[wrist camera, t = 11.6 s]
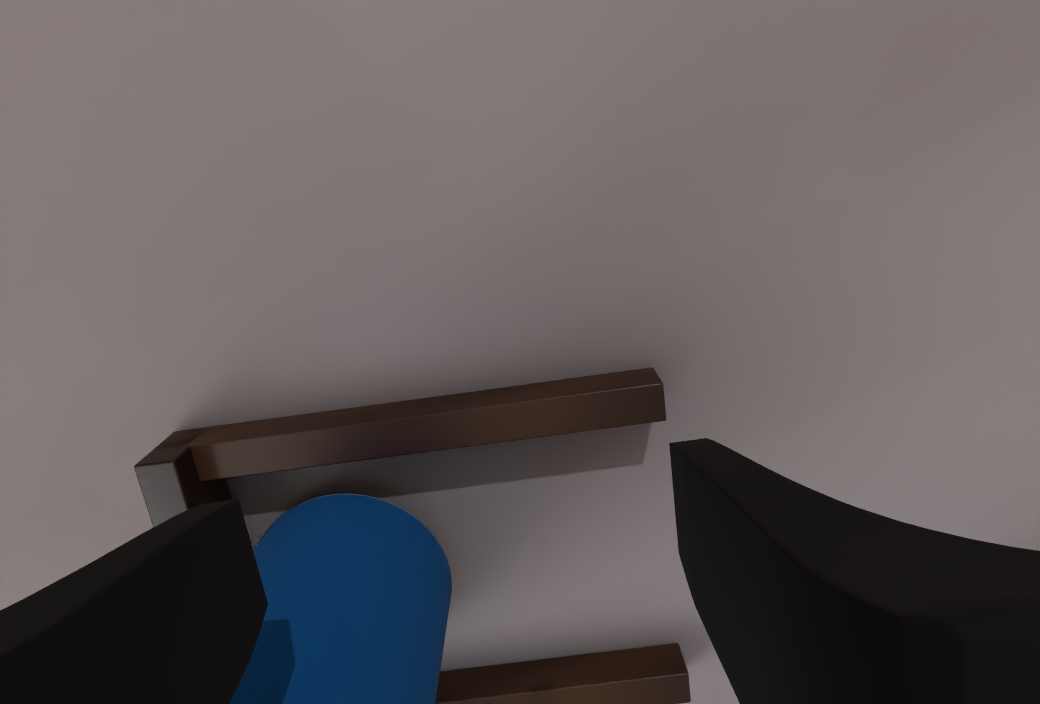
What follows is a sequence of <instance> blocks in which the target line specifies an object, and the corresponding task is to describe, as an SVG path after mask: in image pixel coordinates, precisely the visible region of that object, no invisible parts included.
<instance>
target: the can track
mask: <svg viewBox="0 0 1040 704" xmlns="http://www.w3.org/2000/svg"><path fill="white" fill-rule="evenodd" d="M665 420H666V411H665V399H664V388H663V383H662V381H661V379H660V378H659V376H658V375H657V373H656V371H655V370H654V368H646V369H639V370H631V371H624V372H616V373H609V374H601V375H594V376H587V377H579V378H572V379H564V380H557V381H549V382H542V383H534V384H527V385H519V386H512V387H504V388H497V389H489V390H482V391H475V392H467V393H460V394H452V395H445V396H437V397H430V398H422V399H415V400H407V401H400V402H392V403H385V404H378V405H370V406H363V407H355V408H348V409H340V410H333V411H325V412H318V413H310V414H303V415H295V416H288V417H280V418H273V419H266V420H258V421H251V422H243V423H236V424H228V425H221V426H213V427H206V428H198V429H191V430H183V431H176V432H173V433H172V434H171V435H170V436H169V437H167V438H166V439H165V440H164V441H163V442H162V443H160V444H159V445H158V446H157V447H156V448H155V449H153V450H152V451H151V452H150V453H149V454H148V455H147V456H145V457H144V458H143V459H142V460H141V461H139V462H138V463H137V464H136V465H135V466H134V468H135V471H136V474H137V477H138V480H139V484H140V487H141V490H142V493H143V496H144V499H145V502H146V505H147V508H148V511H149V514H150V517H151V521H152V524H153V527H155V526H157V525H159V524H161V523H163V522H164V521H166V520H168V519H170V518H172V517H174V516H176V515H178V514H180V513H182V512H184V511H186V510H189V509H191V508H193V507H196V506H199V505H201V504H206V503H213V502H221V501H229V500H231V498H230V495H229V491H228V488H227V484H226V481H225V478H232V477H240V476H247V475H255V474H262V473H270V472H278V471H285V470H293V469H300V468H308V467H316V466H323V465H331V464H339V463H346V462H354V461H361V460H369V459H377V458H384V457H392V456H399V455H407V454H415V453H422V452H430V451H438V450H445V449H453V448H460V447H468V446H476V445H483V444H491V443H498V442H506V441H514V440H521V439H529V438H536V437H544V436H552V435H559V434H567V433H575V432H582V431H590V430H597V429H605V428H613V427H620V426H628V425H635V424H643V423H651V422H658V421H665ZM690 701H691V699H690V687H689V676H688V671H687V668H686V665H685V662H684V659H683V656H682V653H681V649H680V646H679V644H678V643H675V644H667V645H659V646H651V647H642V648H634V649H626V650H617V651H609V652H601V653H592V654H584V655H576V656H568V657H559V658H551V659H543V660H534V661H526V662H518V663H509V664H501V665H493V666H485V667H476V668H468V669H460V670H451V671H443V672H440V674H439V681H438V688H437V694H436V701H435V704H679V703H687V702H690Z"/></svg>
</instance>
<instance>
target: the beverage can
mask: <svg viewBox="0 0 1040 704" xmlns="http://www.w3.org/2000/svg"><path fill="white" fill-rule="evenodd" d="M253 552H254V556H255V559H256V563H257V566H258V570H259V573H260V577H261V580H262V584H263V587H264V591H265V595H266V598H267V602H268V606H267V609H266V613H265V616H264V619H263V623H262V626H261V630H260V633H259V636H258V639H257V642H256V645H255V648H254V651H253V654H252V657H251V659H250V661H249V663H248V666H247V668H246V670H245V672H244V674H243V676H242V678H241V681H240V683H239V685H238V687H237V689H236V691H235V693H234V695H233V697H232V699H231V701H230V703H229V704H435V701H436V694H437V688H438V681H439V674H440V667H441V660H442V653H443V646H444V639H445V632H446V625H447V618H448V611H449V605H450V598H451V574H450V568H449V565H448V561H447V558H446V556H445V553H444V551H443V549H442V547H441V545H440V544H439V542H438V541H437V539H436V538H435V536H434V535H433V534H432V533H431V531H430V530H429V529H428V528H427V527H426V526H425V525H424V524H423V523H422V522H421V521H420V520H419V519H417V518H416V517H415V516H413V515H412V514H411V513H409V512H408V511H406V510H404V509H403V508H401V507H399V506H397V505H395V504H393V503H390V502H388V501H385V500H382V499H379V498H375V497H371V496H367V495H360V494H332V495H325V496H321V497H316V498H313V499H310V500H308V501H305V502H302V503H300V504H298V505H296V506H295V507H293V508H291V509H289V510H288V511H287V512H285V513H284V514H282V515H281V516H280V517H279V518H278V519H277V520H276V521H274V522H273V523H272V524H271V526H270V527H269V528H268V529H267V531H266V532H265V533H264V535H263V536H262V538H261V539H260V541H259V543H258V544H257V546H256V547H255V549H254V550H253Z"/></svg>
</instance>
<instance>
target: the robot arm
mask: <svg viewBox="0 0 1040 704" xmlns="http://www.w3.org/2000/svg"><path fill="white" fill-rule="evenodd" d="M669 445H670V456H671V468H672V479H673V491H674V503H675V514H676V526H677V537H678V549H679V555H680V558H681V562H682V565H683V568H684V572H685V575H686V579H687V582H688V585H689V588H690V591H691V595H692V598H693V601H694V604H695V606H696V609H697V611H698V613H699V615H700V618H701V620H702V622H703V624H704V626H705V629H706V631H707V633H708V635H709V637H710V640H711V642H712V644H713V646H714V648H715V651H716V653H717V655H718V657H719V659H720V661H721V664H722V666H723V668H724V670H725V672H726V674H727V677H728V679H729V681H730V683H731V685H732V687H733V690H734V692H735V694H736V696H737V698H738V700H739V703H740V704H1040V551H1035V550H1029V549H1022V548H1016V547H1009V546H1004V545H999V544H994V543H988V542H983V541H978V540H973V539H968V538H964V537H960V536H956V535H951V534H947V533H943V532H939V531H934V530H930V529H926V528H922V527H918V526H915V525H911V524H907V523H904V522H900V521H897V520H894V519H891V518H888V517H885V516H882V515H878V514H875V513H872V512H869V511H866V510H863V509H860V508H857V507H854V506H852V505H849V504H846V503H844V502H841V501H838V500H836V499H833V498H831V497H829V496H826V495H824V494H822V493H819V492H817V491H814V490H812V489H810V488H807V487H805V486H803V485H801V484H799V483H796V482H794V481H792V480H790V479H788V478H786V477H784V476H782V475H780V474H777V473H775V472H774V471H772V470H770V469H768V468H766V467H764V466H762V465H760V464H758V463H756V462H754V461H752V460H750V459H748V458H746V457H744V456H743V455H741V454H739V453H737V452H735V451H733V450H731V449H729V448H727V447H725V446H723V445H721V444H719V443H717V442H715V441H713V440H710V439H708V438H705V439H697V440H689V441H682V442H674V443H669ZM267 606H268V602H267V598H266V595H265V591H264V587H263V584H262V580H261V577H260V573H259V570H258V566H257V563H256V559H255V556H254V552H253V548H252V545H251V541H250V538H249V534H248V531H247V527H246V524H245V520H244V517H243V513H242V509H241V506H240V502H239V499H236V500H229V501H221V502H213V503H206V504H201V505H199V506H196V507H193V508H191V509H189V510H186V511H184V512H182V513H180V514H178V515H176V516H174V517H172V518H170V519H168V520H166V521H164V522H163V523H161V524H159V525H157V526H155V527H153V528H152V529H150V530H148V531H146V532H145V533H143V534H141V535H139V536H137V537H136V538H134V539H132V540H130V541H129V542H127V543H125V544H123V545H122V546H120V547H118V548H116V549H114V550H113V551H111V552H109V553H107V554H106V555H104V556H102V557H100V558H99V559H97V560H95V561H93V562H92V563H90V564H88V565H86V566H84V567H82V568H81V569H79V570H77V571H75V572H73V573H71V574H69V575H68V576H66V577H64V578H62V579H60V580H58V581H56V582H54V583H53V584H51V585H49V586H47V587H45V588H43V589H41V590H40V591H38V592H36V593H34V594H32V595H30V596H28V597H27V598H25V599H23V600H21V601H19V602H17V603H15V604H13V605H11V606H9V607H7V608H5V609H3V610H1V611H0V704H229V703H230V701H231V699H232V697H233V695H234V693H235V691H236V689H237V687H238V685H239V683H240V681H241V678H242V676H243V674H244V672H245V670H246V668H247V666H248V663H249V661H250V659H251V657H252V654H253V651H254V648H255V645H256V642H257V639H258V636H259V633H260V630H261V626H262V623H263V619H264V616H265V613H266V609H267Z"/></svg>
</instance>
